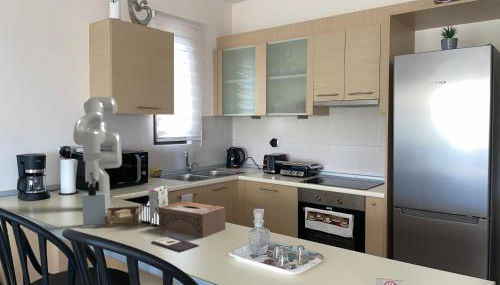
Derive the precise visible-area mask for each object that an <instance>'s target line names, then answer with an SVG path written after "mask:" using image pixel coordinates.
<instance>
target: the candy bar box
mask: <svg viewBox="0 0 500 285" xmlns="http://www.w3.org/2000/svg"><path fill="white" fill-rule="evenodd" d="M168 191H169V190H168V186H167V185H166V186H164V185H160V186H157V187H154V188H152V189H150V190H148V204H149V220H150V226H152V223H151V221H152V218H153V216H154V213H155V207H156V208H158V210H159V207H162V206H166V205H169V195H168V194H169V193H168Z"/></svg>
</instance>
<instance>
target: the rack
mask: <svg viewBox="0 0 500 285" xmlns="http://www.w3.org/2000/svg"><path fill="white" fill-rule="evenodd" d="M124 209H128V210H131V214H132V215H133V221H132V222H118V223H112V216H115V212H116V211H120V210H124ZM139 214H141V212H140V205H134V206H133V205H132V206H131V205H130V206H119V207H118V206H116V207H113V208H108V209H107V214H106V215H105V227H104V228H116V227H130V226H132V225H133V226H138V225H139V223H140V219H139Z"/></svg>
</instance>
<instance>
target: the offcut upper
mask: <svg viewBox="0 0 500 285" xmlns="http://www.w3.org/2000/svg"><path fill="white" fill-rule="evenodd" d="M129 215H131V210H128V209H124V210H120V211H116V212H115V217H116V218H122V217H126V216H129Z"/></svg>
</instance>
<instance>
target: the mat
mask: <svg viewBox="0 0 500 285" xmlns="http://www.w3.org/2000/svg"><path fill="white" fill-rule="evenodd" d="M91 228H105V224H96V225H82V226H81V229H91Z"/></svg>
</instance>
